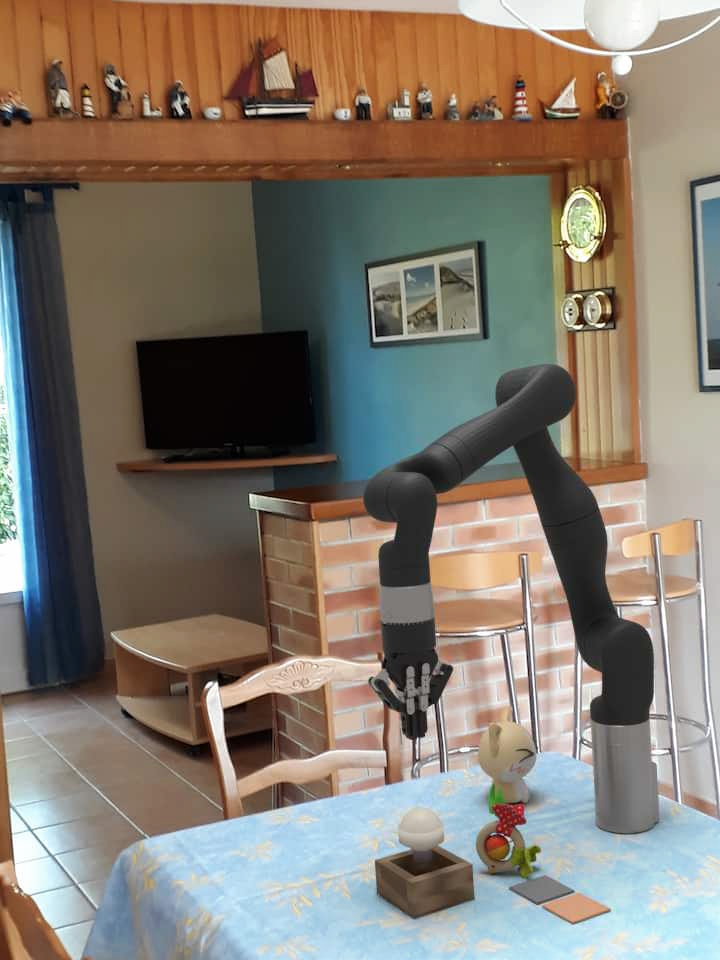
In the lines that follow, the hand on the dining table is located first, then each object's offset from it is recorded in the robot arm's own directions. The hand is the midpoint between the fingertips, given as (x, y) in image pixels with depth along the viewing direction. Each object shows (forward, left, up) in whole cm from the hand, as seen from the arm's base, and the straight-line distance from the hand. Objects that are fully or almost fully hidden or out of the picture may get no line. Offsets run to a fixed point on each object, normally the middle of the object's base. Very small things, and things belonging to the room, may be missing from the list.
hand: (415, 737), depth 167 cm
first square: (-14, +9, -23) cm, 28 cm away
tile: (-14, +16, -23) cm, 31 cm away
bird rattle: (-14, +1, -23) cm, 27 cm away
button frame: (0, 0, -23) cm, 23 cm away
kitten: (-32, -23, -23) cm, 46 cm away
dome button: (0, 0, -17) cm, 17 cm away
